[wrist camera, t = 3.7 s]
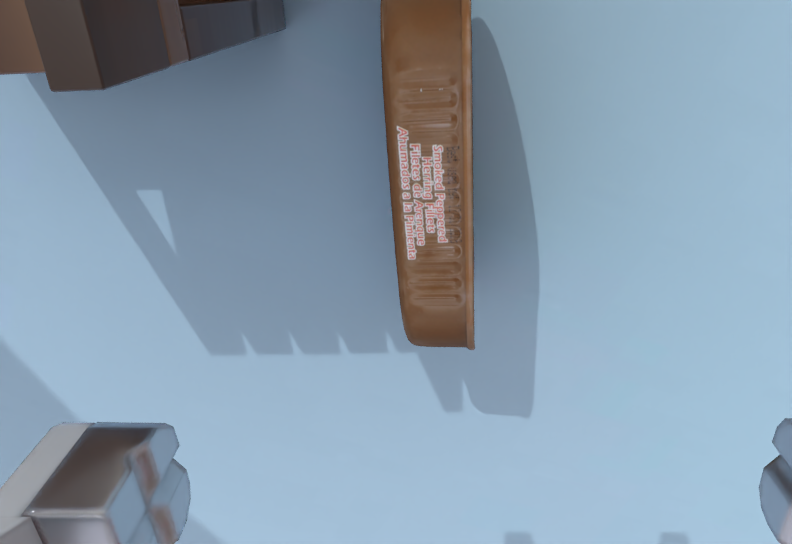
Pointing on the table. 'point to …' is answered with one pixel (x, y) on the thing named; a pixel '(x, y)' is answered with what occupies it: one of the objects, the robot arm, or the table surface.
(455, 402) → the table surface
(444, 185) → the tin
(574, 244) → the table surface
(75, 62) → the rack
